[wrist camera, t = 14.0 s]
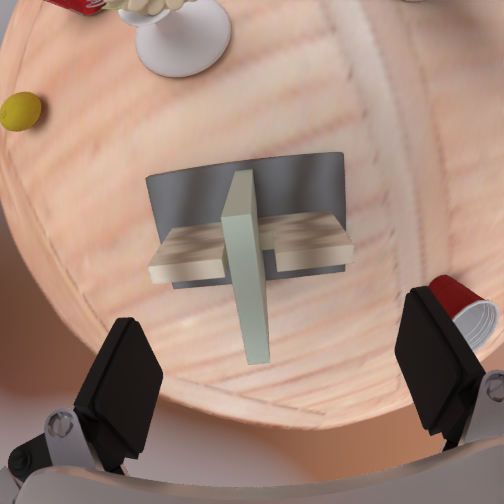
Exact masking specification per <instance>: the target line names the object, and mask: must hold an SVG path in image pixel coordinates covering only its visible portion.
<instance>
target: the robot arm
mask: <svg viewBox="0 0 504 504" xmlns="http://www.w3.org/2000/svg"><path fill="white" fill-rule="evenodd" d="M405 1H412V2H415V1H422V0H405ZM395 356H396V359H397V361H398V363H399V366H400V368H401V371H402V373H403V376H404V378H405V381H406V383H407V386H408V388H409V391H410V393H411V396H412V399H413V401H414V404H415V406H416V409H417V412H418V415H419V417H420V420H421V423H422V425H423V428H424V429H425V430H427V429H428V431H429V434H430V436H432V435H434V434H437V433H440V432H442V435H443V438H444V441H443V444H442V446H441V448H440V451H439V453H438V454H436V455H433V456H430V457H427V458H424V459H421V460H418V461H414V462H411V463H407V464H404V465H400V466H397V467H393V468H389V469H386V470H381V471H377V472H373V473H369V474H364V475H359V476H354V477H349V478H344V479H338V480H331V481H325V482H318V483H309V484H300V485H289V486H274V487H211V486H194V485H184V484H174V483H167V482H159V481H153V480H147V479H140V478H134V477H130V475H129V473H128V471H127V469H126V468H125V466H124V464H123V461H124V458H125V457H126V458H131V459H138V456H139V453H142V452H143V450H144V446H145V442H146V438H147V435H148V431H149V427H150V423H151V419H152V416H153V412H154V408H155V405H156V401H157V398H158V394H159V391H160V387H161V384H162V380H163V371H162V369H161V367H160V365H159V363H158V361H157V359H156V357H155V355H154V353H153V351H152V349H151V347H150V345H149V343H148V340H147V338H146V336H145V334H144V332H143V330H142V327H141V325H140V323H139V322H138V321H135V319H134V318H132V317H128V318H117V319H116V321H115V323H114V324H113V326H112V328H111V330H110V332H109V334H108V336H107V337H106V339H105V341H104V343H103V345H102V347H101V349H100V351H99V353H98V355H97V357H96V359H95V361H94V363H93V365H92V367H91V369H90V371H89V373H88V375H87V377H86V379H85V381H84V383H83V385H82V387H81V390H80V392H79V394H78V396H77V398H76V400H75V402H74V406H75V408H74V410H71V409H69V408H60V409H57V410H55V411H53V412H52V413H51V414H50V415H49V416H48V417H47V420H46V422H45V425H44V433H43V434H41V435H39V436H37V437H36V438H34V439H32V440H30V441H28V442H26V443H25V444H22V445H20V446H19V447H17V448H16V449H14V450H13V451H12V452H11V454H10V456H9V459H8V468H7V467H6V466H4V467H3V468H2V469H1V470H0V504H504V371H502V370H492V371H490V372H488V373H486V372H485V371H484V369H483V367H482V366H481V364H480V362H479V361H478V359H477V357H476V356H475V354H474V352H473V351H472V349H471V348H470V346H469V344H468V343H467V341H466V340H465V338H464V337H463V335H462V334H461V332H460V331H459V329H458V328H457V326H456V325H455V323H454V322H453V321H452V319H451V318H450V316H449V315H448V313H447V312H446V311H445V309H444V308H443V306H442V305H441V304H440V302H439V301H438V299H437V298H436V297H435V295H434V294H433V292H432V291H431V290H430V288H429V287H428V286H421V287H416V288H412V289H411V290H410V293H407V294H406V298H405V303H404V308H403V313H402V318H401V323H400V328H399V332H398V336H397V341H396V345H395Z"/></svg>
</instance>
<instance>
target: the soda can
mask: <svg viewBox="0 0 504 504" xmlns="http://www.w3.org/2000/svg"><path fill="white" fill-rule="evenodd" d="M44 1H47V2H50V3H52V4H55V5H58V6H60V7H63V8H65V9H68V10H71V11H73V12H76V13H78V14H81V15H92V14H95V13H97V12H99V11H101V10H102V9H101V8H102V7H104V6H105V5H106V4H107V3H105V2H104V1H103V0H44Z"/></svg>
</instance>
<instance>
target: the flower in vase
mask: <svg viewBox="0 0 504 504" xmlns="http://www.w3.org/2000/svg"><path fill="white" fill-rule="evenodd" d="M103 1H104V2H105V3H107V4H106V5H105V6H104V7H102V8H101V9H108V10H116V9H118V11H119V15H120V17H121V19H122V20H123V21H124V22H125V23H127V24H129V25H132V26H138V27H137V30H136V35H135V46H136V51H137V54H138V57H139V59H140V60H141V62H142V63H143V64H144V65H145V66H146V67H147V68H148V69H149V70H151V71H152V72H154V73H156V74H159V75H162V76H166V77H185V76H190V75H193V74H196V73H198V72H201V71H203V70H204V69H206V68H208V67H209V66H211V65H212V64H213V63H214V62H215V61H217V60H218V59H219V57H220V56H221V55H222V54H223V52H224V51H225V49H226V47H227V45H228V43H229V40H230V36H231V22H230V19H229V16H228V14H227V12H226V10H225V9H224V8H223V6H222V5H221V4H220V3H218V2H217V1H216V0H103Z"/></svg>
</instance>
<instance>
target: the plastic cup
mask: <svg viewBox="0 0 504 504" xmlns="http://www.w3.org/2000/svg"><path fill="white" fill-rule="evenodd" d="M428 287H429V288H430V290H431V291H432V292H433V294H434V295H435V297H436V298H437V299H438V301H439V302H440V304H441V305H442V306H443V308H444V309H445V311H446V312H447V313H448V315H449V316H450V318H451V319H452V321H453V322H454V323H455V325H456V326H457V328H458V329H459V331H460V332H461V334H462V335H463V337H464V338H465V340H466V341H467V343H468V344H469V346H470V348H471V349H472V351H473V352H475V351H477V350H478V349H479V348H480V347H482V346H483V345H484V344H485V343H486V342H487V340H488V339H489V338H490V337H491V335H492V334H493V332H494V330H495V328H496V326H497V324H498V319H499V310H498V307H497V305H496V304H495V303H493V302H491V301H489V300H485V299H483V298H481V297H480V296H478V295H477V294H475V293H474V292H472V291H471V290H470V289H468V288H467V287H465V286H464V285H463V284H461V283H459V282H457V281H456V280H454V279H453V278H451V277H449V276H447V275H441V276H439V277H437V278H435V279H434V280H433V281H432V282H431V283H430V285H429V286H428Z"/></svg>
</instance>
